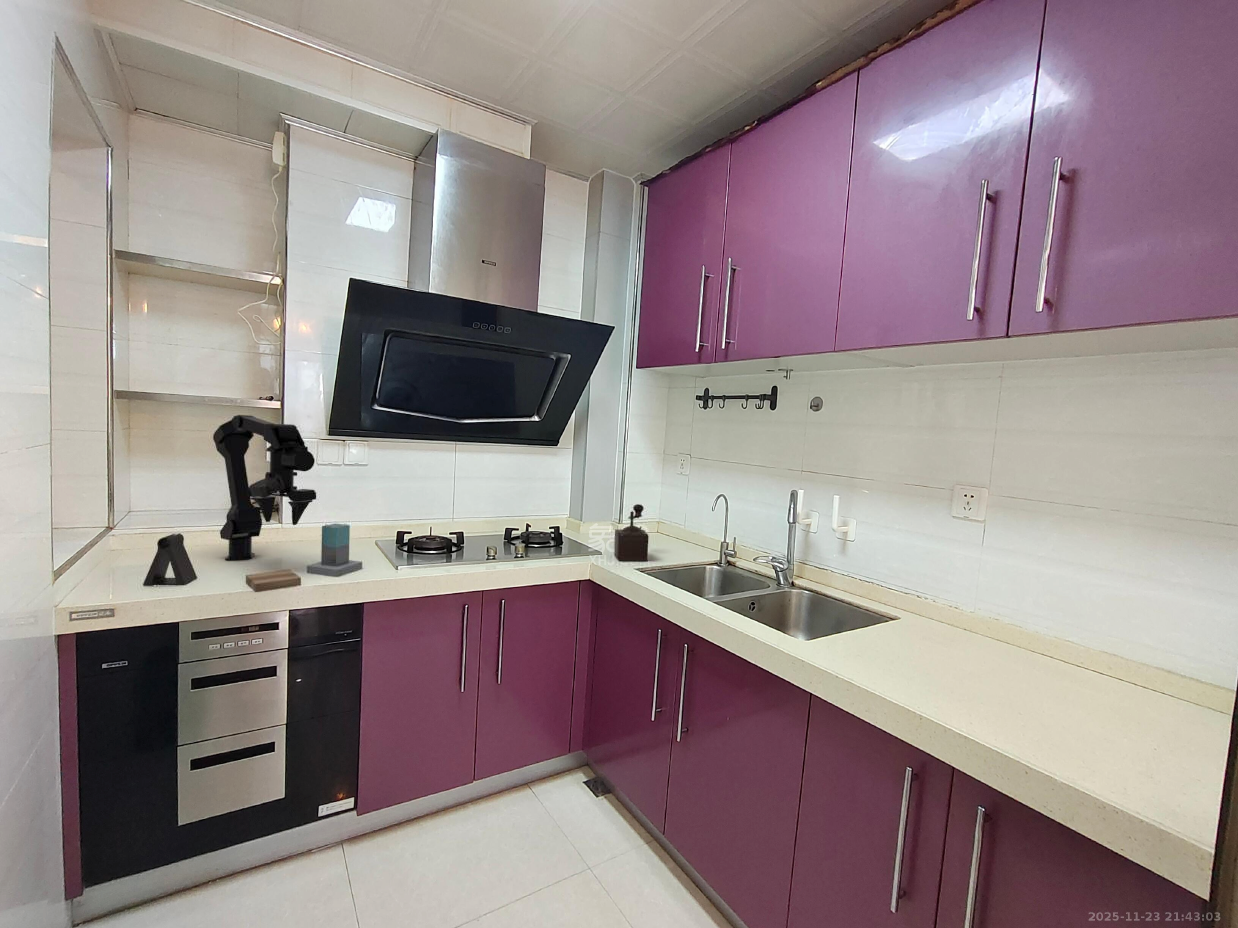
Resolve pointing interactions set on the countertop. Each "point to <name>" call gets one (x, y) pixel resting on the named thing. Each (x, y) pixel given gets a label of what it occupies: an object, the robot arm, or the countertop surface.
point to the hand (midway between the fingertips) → (281, 523)
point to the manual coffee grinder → (631, 540)
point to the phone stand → (175, 554)
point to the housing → (335, 544)
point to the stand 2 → (334, 568)
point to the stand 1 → (272, 580)
